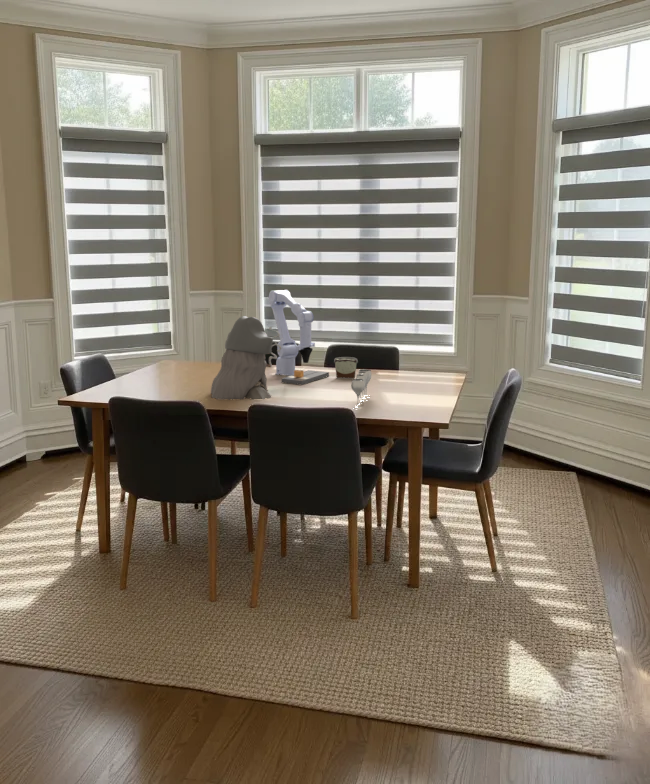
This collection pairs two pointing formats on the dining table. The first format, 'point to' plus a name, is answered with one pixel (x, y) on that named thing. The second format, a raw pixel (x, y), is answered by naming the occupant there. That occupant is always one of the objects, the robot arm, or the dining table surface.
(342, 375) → the food container
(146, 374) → the dining table surface
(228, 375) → the bust
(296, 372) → the fader
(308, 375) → the console
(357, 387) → the goblet set
